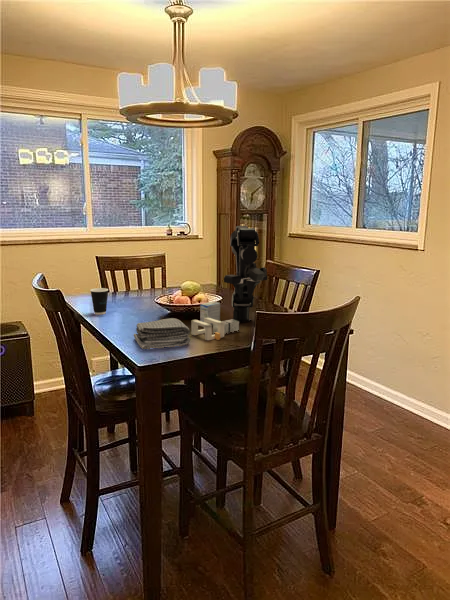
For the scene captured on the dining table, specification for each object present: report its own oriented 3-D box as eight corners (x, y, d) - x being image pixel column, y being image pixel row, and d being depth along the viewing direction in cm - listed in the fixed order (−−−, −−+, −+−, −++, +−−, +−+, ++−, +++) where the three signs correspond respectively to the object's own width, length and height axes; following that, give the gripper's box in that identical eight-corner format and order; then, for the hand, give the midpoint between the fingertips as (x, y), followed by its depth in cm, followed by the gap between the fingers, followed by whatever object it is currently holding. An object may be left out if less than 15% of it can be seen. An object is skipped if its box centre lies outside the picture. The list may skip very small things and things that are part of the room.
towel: (191, 346, 161) (191, 324, 159) (139, 351, 155) (139, 329, 153) (181, 335, 175) (181, 315, 173) (133, 339, 169) (132, 318, 167)
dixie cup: (105, 315, 202) (104, 291, 200) (88, 315, 203) (87, 290, 201) (111, 311, 210) (110, 288, 208) (95, 311, 211) (93, 287, 209)
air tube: (232, 328, 184) (232, 319, 183) (238, 331, 181) (239, 321, 180) (212, 332, 177) (212, 322, 177) (219, 335, 174) (219, 325, 174)
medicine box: (212, 321, 196) (212, 301, 194) (220, 322, 193) (220, 302, 191) (199, 324, 190) (200, 304, 188) (207, 326, 187) (208, 305, 185)
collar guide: (208, 331, 180) (208, 317, 179) (227, 337, 171) (227, 323, 170) (191, 334, 175) (191, 320, 174) (210, 341, 166) (210, 326, 165)
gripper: (242, 263, 168) (241, 305, 171) (277, 260, 179) (276, 299, 183) (223, 260, 176) (222, 300, 179) (258, 258, 188) (257, 295, 191)
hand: (245, 298), depth 183 cm, fingers open, 4 cm apart
